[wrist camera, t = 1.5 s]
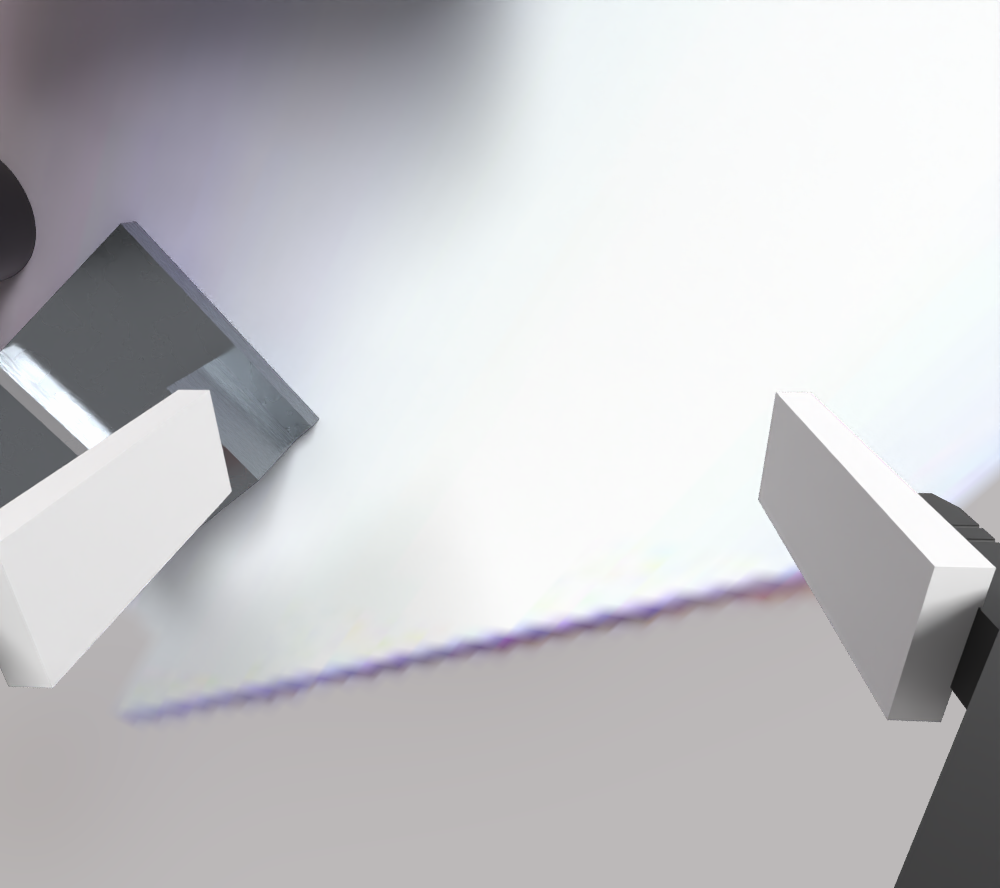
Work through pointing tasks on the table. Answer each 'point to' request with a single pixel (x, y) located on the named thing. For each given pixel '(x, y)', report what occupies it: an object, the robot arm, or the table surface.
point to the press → (134, 369)
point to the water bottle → (14, 225)
